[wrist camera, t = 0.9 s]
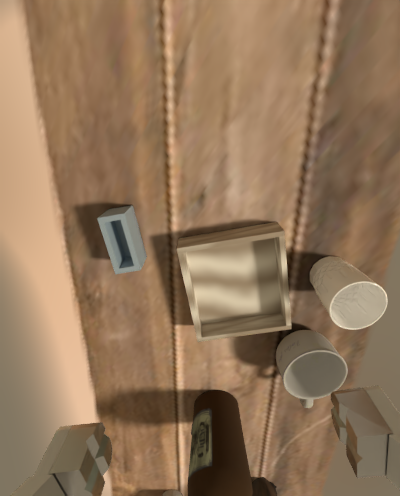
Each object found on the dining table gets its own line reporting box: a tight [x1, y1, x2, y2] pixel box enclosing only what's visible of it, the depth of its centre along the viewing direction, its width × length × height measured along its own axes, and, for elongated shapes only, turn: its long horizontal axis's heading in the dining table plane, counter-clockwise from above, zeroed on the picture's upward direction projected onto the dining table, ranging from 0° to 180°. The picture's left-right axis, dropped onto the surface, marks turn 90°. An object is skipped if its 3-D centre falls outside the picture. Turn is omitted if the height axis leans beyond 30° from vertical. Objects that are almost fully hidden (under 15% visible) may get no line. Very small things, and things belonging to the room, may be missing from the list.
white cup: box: [310, 256, 387, 330], centre depth 44 cm, size 8×8×10 cm
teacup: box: [276, 330, 348, 408], centre depth 51 cm, size 14×11×8 cm
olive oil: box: [188, 390, 253, 496], centre depth 49 cm, size 11×11×25 cm
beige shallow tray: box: [176, 222, 292, 342], centre depth 47 cm, size 18×16×4 cm
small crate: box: [97, 205, 147, 274], centre depth 44 cm, size 9×4×5 cm, turn 10°
